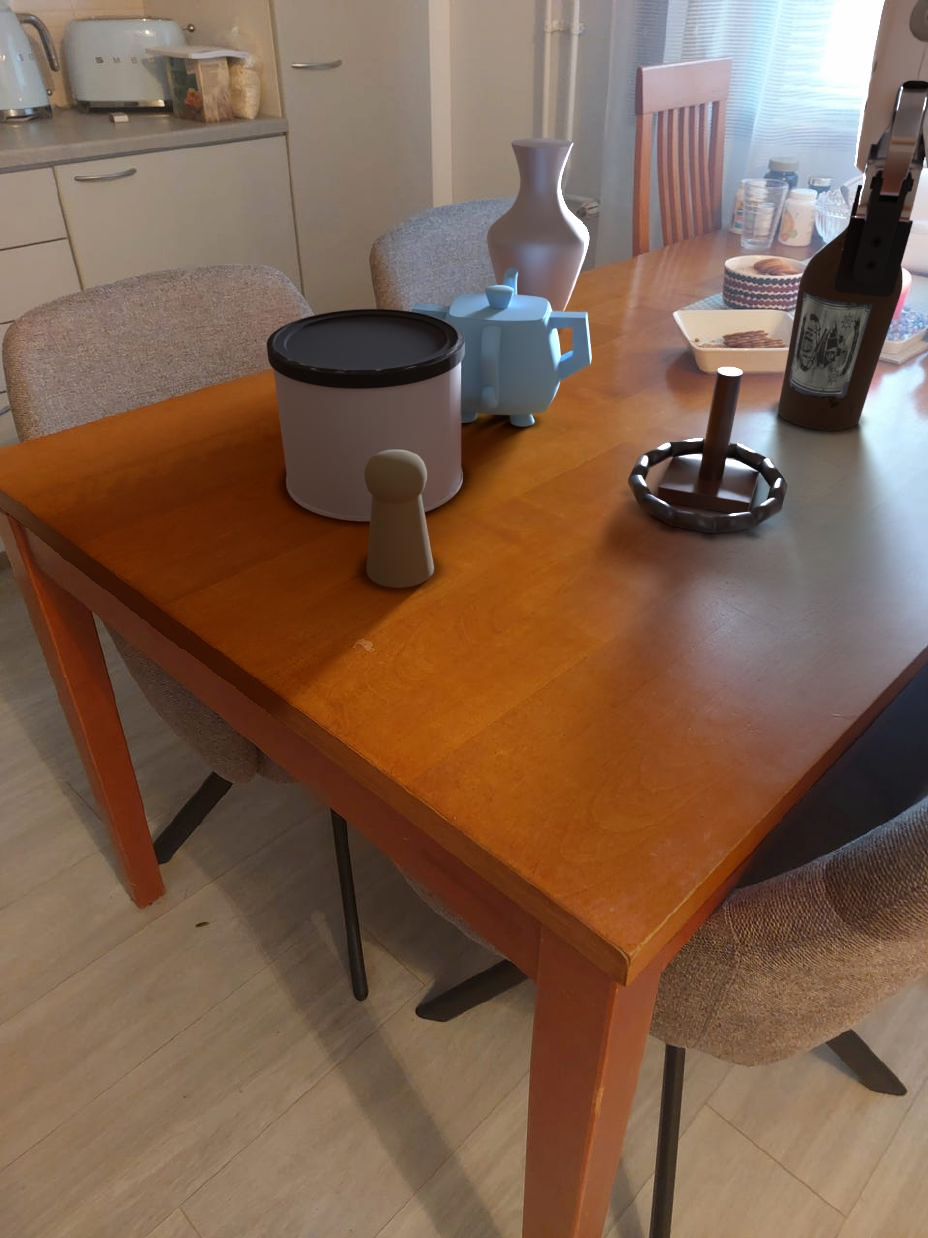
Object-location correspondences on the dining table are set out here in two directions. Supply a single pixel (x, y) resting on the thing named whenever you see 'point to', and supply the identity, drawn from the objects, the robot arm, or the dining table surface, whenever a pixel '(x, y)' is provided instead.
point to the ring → (699, 520)
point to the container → (367, 403)
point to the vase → (540, 227)
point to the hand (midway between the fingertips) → (865, 271)
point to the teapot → (512, 350)
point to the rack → (713, 460)
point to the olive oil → (833, 346)
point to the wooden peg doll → (397, 520)
